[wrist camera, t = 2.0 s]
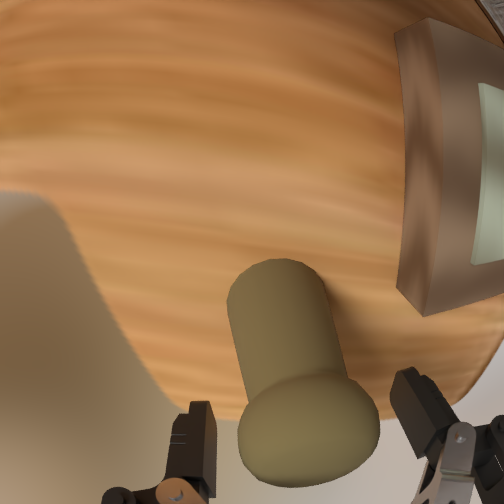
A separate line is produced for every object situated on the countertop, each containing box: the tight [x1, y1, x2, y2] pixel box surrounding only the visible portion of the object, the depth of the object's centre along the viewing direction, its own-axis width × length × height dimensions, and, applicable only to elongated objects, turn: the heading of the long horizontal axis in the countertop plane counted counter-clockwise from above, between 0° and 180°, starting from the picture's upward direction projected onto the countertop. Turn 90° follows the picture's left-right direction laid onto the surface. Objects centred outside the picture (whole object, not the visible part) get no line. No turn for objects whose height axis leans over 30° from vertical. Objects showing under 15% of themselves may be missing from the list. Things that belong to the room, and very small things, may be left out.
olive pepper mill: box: [227, 259, 380, 488], centre depth 12 cm, size 6×6×11 cm
